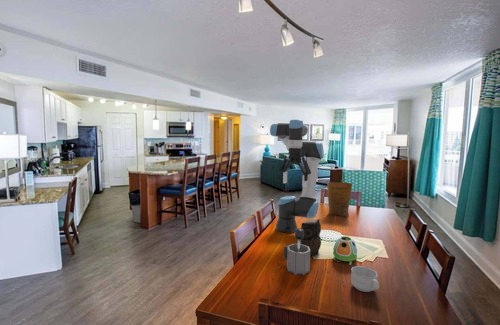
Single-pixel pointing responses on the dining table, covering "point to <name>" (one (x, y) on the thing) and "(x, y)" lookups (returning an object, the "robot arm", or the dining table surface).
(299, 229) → the plunger
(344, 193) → the pancake mix bag
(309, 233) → the owl
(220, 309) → the dining table surface
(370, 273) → the teacup
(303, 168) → the robot arm
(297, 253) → the press carafe
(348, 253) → the turtle holder
